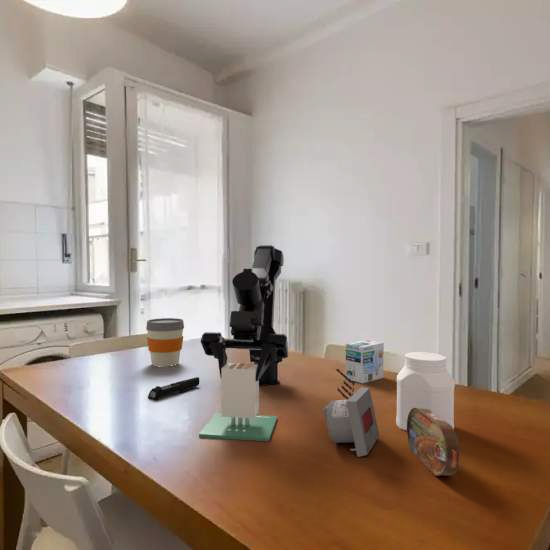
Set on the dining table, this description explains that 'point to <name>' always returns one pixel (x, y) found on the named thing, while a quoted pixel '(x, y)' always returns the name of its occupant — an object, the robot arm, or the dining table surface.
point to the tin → (433, 441)
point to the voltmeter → (353, 419)
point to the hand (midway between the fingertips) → (239, 379)
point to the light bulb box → (364, 361)
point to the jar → (425, 387)
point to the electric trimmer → (173, 388)
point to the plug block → (239, 390)
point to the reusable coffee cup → (165, 340)
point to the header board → (240, 427)
